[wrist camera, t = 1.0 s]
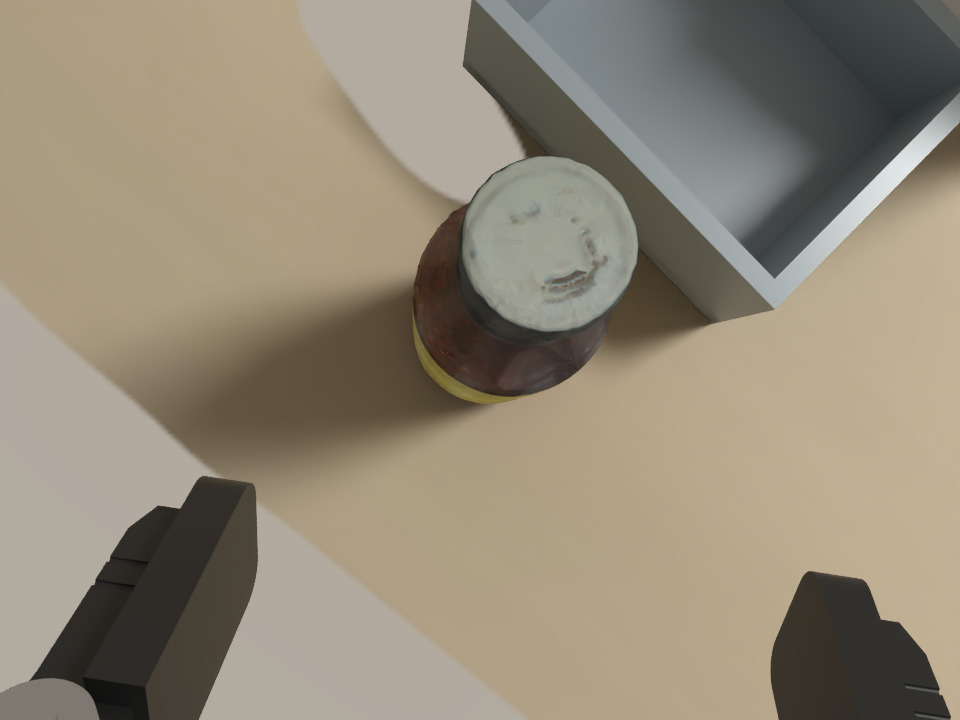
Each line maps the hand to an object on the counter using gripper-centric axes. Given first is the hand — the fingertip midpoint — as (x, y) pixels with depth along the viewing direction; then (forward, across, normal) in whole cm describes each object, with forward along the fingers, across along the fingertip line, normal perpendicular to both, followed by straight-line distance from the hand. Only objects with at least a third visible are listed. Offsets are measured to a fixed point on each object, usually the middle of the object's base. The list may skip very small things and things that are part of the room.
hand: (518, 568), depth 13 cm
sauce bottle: (+25, +2, +10) cm, 27 cm away
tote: (+32, -6, +1) cm, 32 cm away
